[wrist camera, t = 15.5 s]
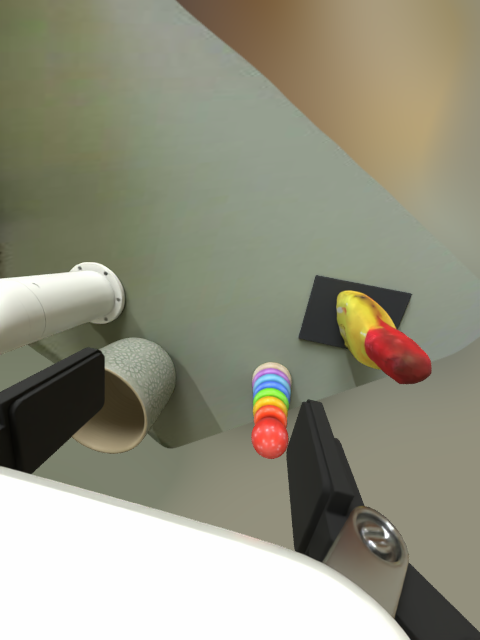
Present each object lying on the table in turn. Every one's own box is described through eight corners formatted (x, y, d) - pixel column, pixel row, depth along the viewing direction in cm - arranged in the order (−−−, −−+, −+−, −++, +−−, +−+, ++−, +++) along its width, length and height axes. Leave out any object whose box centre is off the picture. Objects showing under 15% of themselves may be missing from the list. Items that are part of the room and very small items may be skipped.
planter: (158, 410, 53) (114, 470, 39) (100, 365, 52) (33, 409, 37) (199, 364, 48) (167, 413, 34) (137, 313, 47) (75, 340, 32)
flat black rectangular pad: (298, 337, 43) (298, 338, 43) (315, 275, 40) (316, 275, 39) (383, 355, 42) (385, 357, 41) (410, 293, 38) (412, 294, 38)
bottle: (323, 292, 40) (369, 327, 21) (361, 279, 38) (447, 304, 19) (341, 351, 42) (397, 431, 23) (378, 341, 41) (468, 418, 22)
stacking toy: (299, 378, 46) (316, 457, 28) (272, 401, 48) (272, 488, 30) (270, 353, 45) (268, 418, 27) (244, 378, 47) (227, 453, 30)
